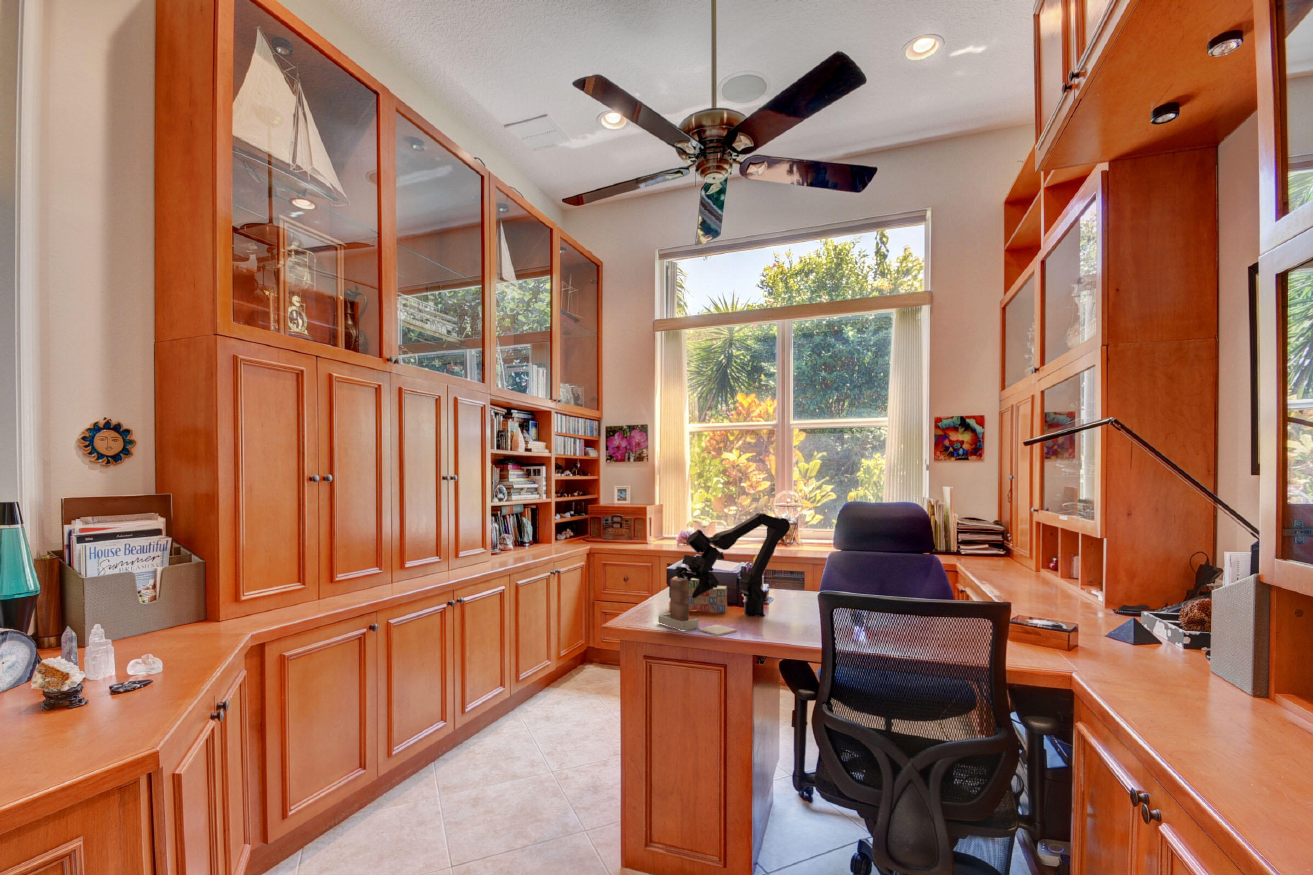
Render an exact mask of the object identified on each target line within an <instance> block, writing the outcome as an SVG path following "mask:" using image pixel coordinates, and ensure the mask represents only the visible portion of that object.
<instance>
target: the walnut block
mask: <svg viewBox="0 0 1313 875" xmlns="http://www.w3.org/2000/svg"><path fill="white" fill-rule="evenodd" d="M669 579H670V580H669V582H670V587H669V588H670V613H671V618H672V619H675V620H679V621H682V622H683V621H688V620H690V618H689V616H690V611H689V586H688V579H683V578H675V579H672V578H669Z"/></svg>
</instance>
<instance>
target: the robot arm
mask: <svg viewBox="0 0 1313 875" xmlns="http://www.w3.org/2000/svg"><path fill="white" fill-rule="evenodd" d="M762 525H763V526H764V527H766V536H765V539H764V541H763V543H762V546H761V548H760V549H759V552H758V553H757V555H756V558H755V559H754V562H753V564H752V566H751V568H750V569H749V570H748V571H746V570H745V571H743V572H742V574H741V576H740V578H739V579H738V581H739V582H738V588H739V590H740V592H741V593H742V595H743V597H745V601H744V602H743V612H744V614H745V615H746V616H747V617H766V614H765V611H764V610H765V609H764V603H765V602H764V601H765V600H766V598H767V595H768V594H767V593H766V592H765V591H764V590H763V589H762V586H763V575H764V573H765V571H766V569H767V566H768V564H769V562H770V559H771V557H772V556H773V554H774V551H775V550H776V547H777V545H778V543H779V542H780V541H781V540H782V539H783V538H784V537H785V536H786V535H787V533H788V532H789V531H790V529H791V524H790V521H789V520H788V519H787V518H786V517H779V516H778V517H777V516H771V515H768V514H766V513H764V512H763V513H762V512H756V513H755V514H754V515H752V516H751V517H749V518H747V519H746V520H744V521H742V522H741V523H739V524H738V525H736V526H734V527H731V528H729V529H726V530H723V531H719V532H717V533H715V534H714V535H713V536H710V537H707V536H706V535H705V534H704V532H703V530H701V529H699V528H698V529H696V531H694V532H692V533H691V534H690V535H688V536H687V538H686V541H685V542H686V543H687V545H688V546H690V547H691V548H692V549H693V550H694V551H695V553H696V554H698V553H701V554H700V555H695V556H693V555H689V554H688V555H687V554H683V555H684V556H683V559H682V561H681V563H682V565H685V566H686V567H685V566H682V565H681V566H680V565H678V566H676V567H675V569H674V570H673V571H674V573H675V575H676V577H678V578H683V579H688V582H689V581H690V580H691V579H692V578H694V579H698V580H699V584H698V586H697V587H696V589H695V591H694V593H693V595H692V598H696V597H697V596H699V595H701V594H703V593H704V592H706V591H708V590H710V589H713V588H717V586H720V585H719V584H720V580H719V578H718V577H717V576H716V575H715V573H714V572H713V571H714V568H713V567H714V565H715V563H716V562H717V560H719V561H720V560H724V559H725V556H724V552H723V551H726V550H729V549H730V548H731V547H733V546H734V545H735V544H736V543H737V541H738V540H739V539H741V537H743V536H745V535H747V534H749V533H750V532H753V530H755V529H757V528H758V527H760V526H762ZM719 550H723V551H719ZM687 566H688V568H687ZM689 570H690V571H689ZM688 584H689V583H688Z"/></svg>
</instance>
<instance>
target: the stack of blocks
mask: <svg viewBox="0 0 1313 875" xmlns="http://www.w3.org/2000/svg"><path fill="white" fill-rule="evenodd" d="M675 578H678V577H677V576H674V577H672V578H671V579H675ZM688 583H689V584H688V586H689V610H697V611H702V612H701V613H716V614H717V613H718V614H725V613H726V612H727V611H728V586H727V585H718V586H717V588H713V589H710V590H708V591H706V592H704V593H703V594H701V595H699V596H697V597H696V598H692V595H693V593H694V591H695V589H696V587H697V586H698V584H699V580H698V579H694V578H692V579H691V580H690V581H689V582H688Z"/></svg>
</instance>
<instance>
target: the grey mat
mask: <svg viewBox="0 0 1313 875" xmlns="http://www.w3.org/2000/svg"><path fill="white" fill-rule="evenodd" d="M699 630H700V631H699ZM698 631H699V632H702V631H704V632H703V633H705V632H707V633H706V634H709V633H710V634H709V635H713V636H715V637H719V636H724V635H727V634H732V633H735V632H737V629H736V628H731V627H729V626H724V625H721V624H713V625H708V626H704V627H700V628H698Z"/></svg>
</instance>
